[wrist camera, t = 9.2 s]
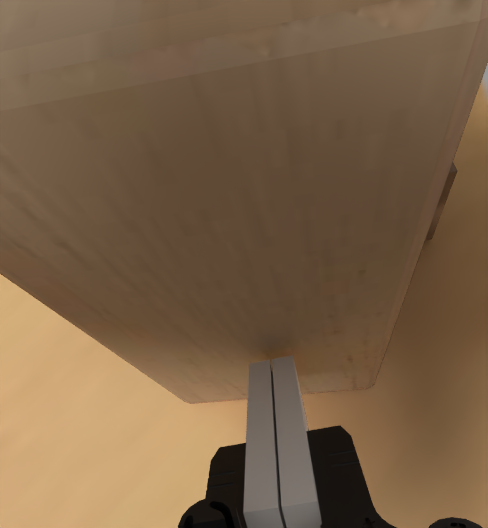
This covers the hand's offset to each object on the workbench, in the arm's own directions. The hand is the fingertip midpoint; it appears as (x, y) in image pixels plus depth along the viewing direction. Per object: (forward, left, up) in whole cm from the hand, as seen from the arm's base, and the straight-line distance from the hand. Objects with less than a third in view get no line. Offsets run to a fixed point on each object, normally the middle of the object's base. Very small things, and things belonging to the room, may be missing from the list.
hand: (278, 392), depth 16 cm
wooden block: (0, +6, -7) cm, 10 cm away
